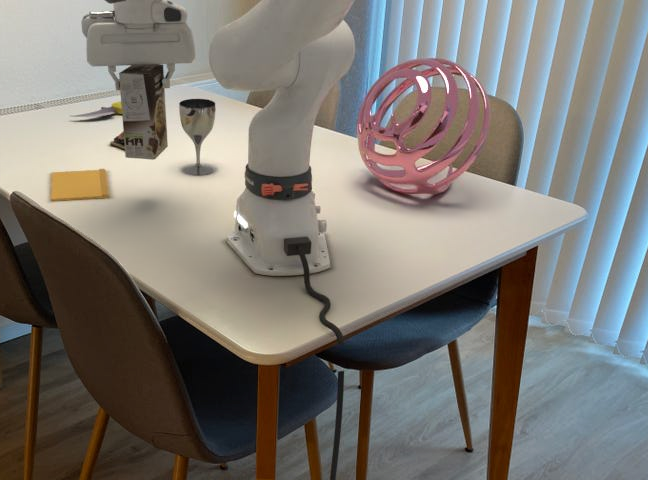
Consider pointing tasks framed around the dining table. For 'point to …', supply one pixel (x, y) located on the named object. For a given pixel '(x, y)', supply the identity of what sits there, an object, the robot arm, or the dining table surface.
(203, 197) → the dining table surface
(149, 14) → the robot arm
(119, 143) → the open sandwich
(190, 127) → the wine glass
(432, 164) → the spiral basket
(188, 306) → the dining table surface
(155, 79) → the coffee box
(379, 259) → the dining table surface
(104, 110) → the knife
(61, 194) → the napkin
